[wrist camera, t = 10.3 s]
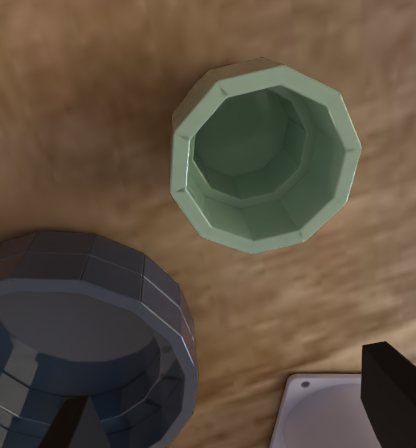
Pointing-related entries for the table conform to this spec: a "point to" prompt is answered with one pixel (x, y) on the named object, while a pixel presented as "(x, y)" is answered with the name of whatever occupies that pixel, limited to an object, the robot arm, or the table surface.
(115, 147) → the table surface
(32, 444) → the dark blue round dish
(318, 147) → the small cup
